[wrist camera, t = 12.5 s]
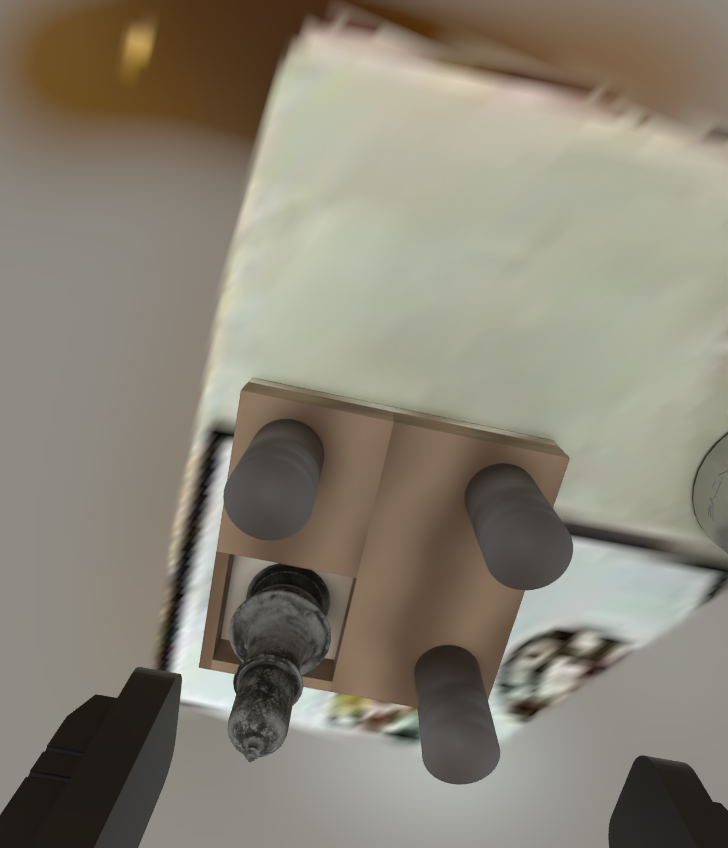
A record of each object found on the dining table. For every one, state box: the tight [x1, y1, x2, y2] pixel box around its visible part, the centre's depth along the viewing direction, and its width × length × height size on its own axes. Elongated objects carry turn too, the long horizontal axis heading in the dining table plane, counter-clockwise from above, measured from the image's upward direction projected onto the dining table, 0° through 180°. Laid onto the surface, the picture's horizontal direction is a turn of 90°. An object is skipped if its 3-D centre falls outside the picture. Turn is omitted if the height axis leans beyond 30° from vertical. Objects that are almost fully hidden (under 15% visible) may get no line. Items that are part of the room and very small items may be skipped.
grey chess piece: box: [228, 563, 331, 762], centre depth 31 cm, size 6×6×12 cm
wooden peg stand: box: [199, 378, 573, 784], centre depth 32 cm, size 18×18×9 cm
